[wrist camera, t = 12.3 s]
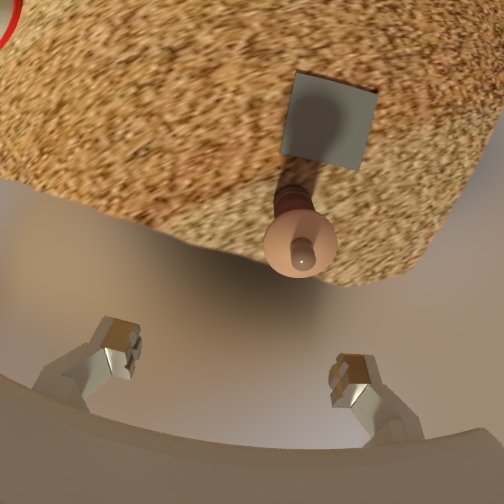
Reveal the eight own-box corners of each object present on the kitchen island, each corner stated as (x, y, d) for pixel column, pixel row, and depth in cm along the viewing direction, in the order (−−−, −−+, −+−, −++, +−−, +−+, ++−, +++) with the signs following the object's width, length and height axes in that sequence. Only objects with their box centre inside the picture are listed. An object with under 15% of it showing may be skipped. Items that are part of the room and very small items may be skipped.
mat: (295, 72, 39) (296, 72, 38) (376, 94, 40) (378, 94, 39) (279, 152, 46) (279, 153, 45) (357, 169, 46) (358, 171, 46)
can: (301, 176, 47) (314, 211, 35) (315, 209, 50) (331, 253, 38) (266, 190, 49) (267, 230, 37) (282, 223, 52) (287, 269, 40)
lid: (270, 203, 35) (271, 218, 32) (344, 215, 36) (352, 232, 32) (258, 267, 40) (257, 287, 36) (325, 276, 40) (330, 296, 37)
